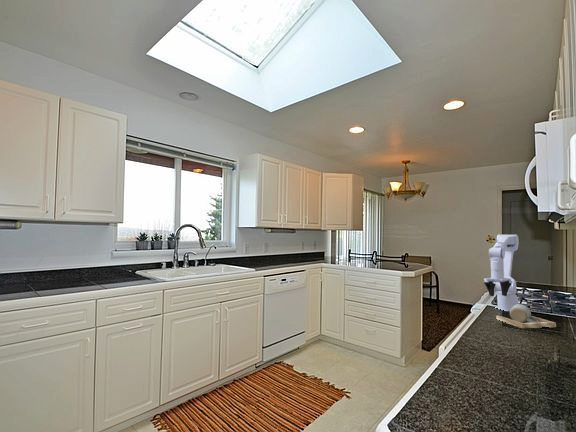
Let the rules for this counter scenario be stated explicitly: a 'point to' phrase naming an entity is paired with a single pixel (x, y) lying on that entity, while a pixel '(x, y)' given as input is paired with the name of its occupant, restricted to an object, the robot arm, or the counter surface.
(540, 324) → the bent wooden beam
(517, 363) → the counter surface
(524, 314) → the ceramic mug
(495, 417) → the counter surface
